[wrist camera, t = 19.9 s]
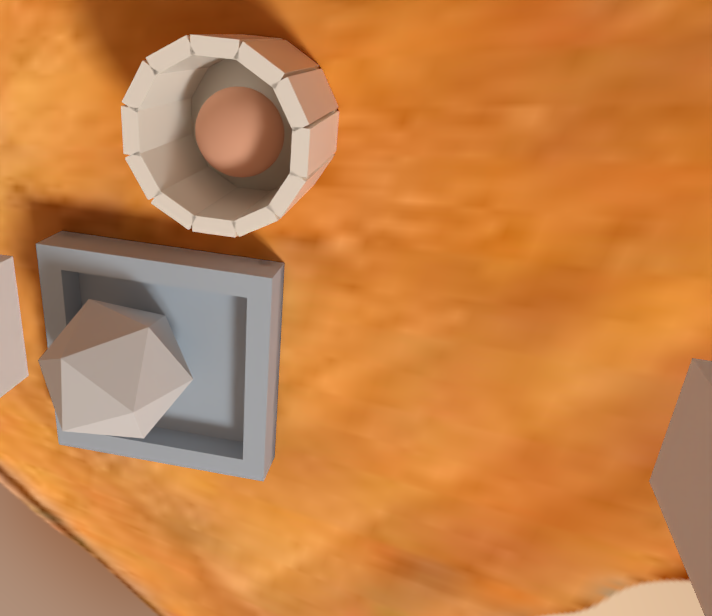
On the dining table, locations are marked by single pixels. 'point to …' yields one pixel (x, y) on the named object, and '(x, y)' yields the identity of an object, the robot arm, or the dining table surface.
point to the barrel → (178, 140)
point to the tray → (183, 343)
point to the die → (114, 370)
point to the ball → (239, 131)
